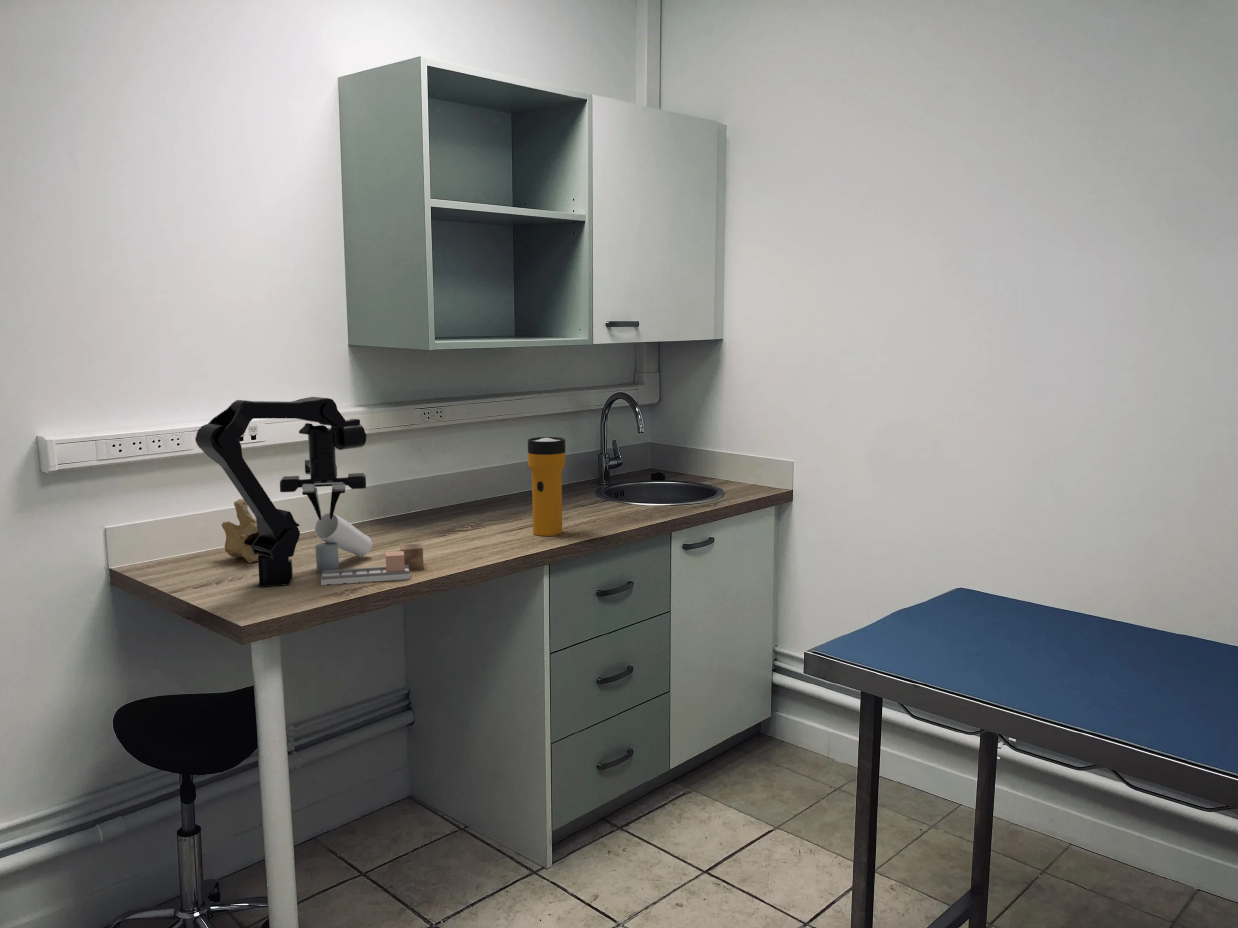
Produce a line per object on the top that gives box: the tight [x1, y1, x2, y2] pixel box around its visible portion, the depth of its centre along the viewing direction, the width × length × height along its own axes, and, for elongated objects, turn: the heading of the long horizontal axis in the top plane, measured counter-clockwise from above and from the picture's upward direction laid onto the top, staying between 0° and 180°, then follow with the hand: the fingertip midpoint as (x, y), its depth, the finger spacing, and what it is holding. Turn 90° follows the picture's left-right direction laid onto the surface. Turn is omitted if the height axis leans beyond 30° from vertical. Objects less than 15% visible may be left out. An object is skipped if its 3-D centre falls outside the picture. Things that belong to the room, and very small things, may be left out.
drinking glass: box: [314, 512, 373, 557], centre depth 232 cm, size 7×7×15 cm
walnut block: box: [399, 543, 425, 571], centre depth 228 cm, size 5×5×5 cm
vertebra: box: [221, 498, 260, 564], centre depth 234 cm, size 9×14×15 cm, turn 47°
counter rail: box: [320, 565, 411, 586], centre depth 218 cm, size 19×6×2 cm, turn 104°
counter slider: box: [385, 550, 405, 572], centre depth 219 cm, size 4×4×4 cm
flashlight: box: [527, 436, 566, 537], centre depth 260 cm, size 10×26×10 cm
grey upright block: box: [315, 542, 340, 574], centre depth 225 cm, size 5×5×6 cm
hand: (325, 519), depth 224 cm, fingers open, 2 cm apart
